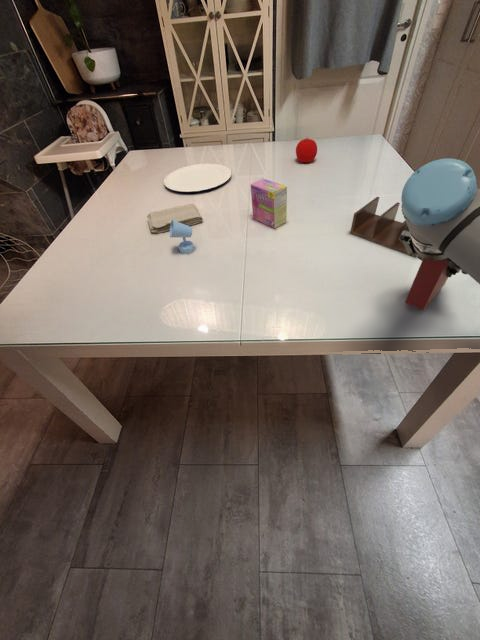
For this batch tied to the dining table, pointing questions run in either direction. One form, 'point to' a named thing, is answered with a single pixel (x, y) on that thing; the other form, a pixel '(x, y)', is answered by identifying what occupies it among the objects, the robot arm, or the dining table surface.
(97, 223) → the dining table surface
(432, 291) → the upright red slab
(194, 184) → the plate
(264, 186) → the box
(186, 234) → the spotlight
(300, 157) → the fruit
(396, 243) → the rack
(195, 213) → the washcloth
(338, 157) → the dining table surface
